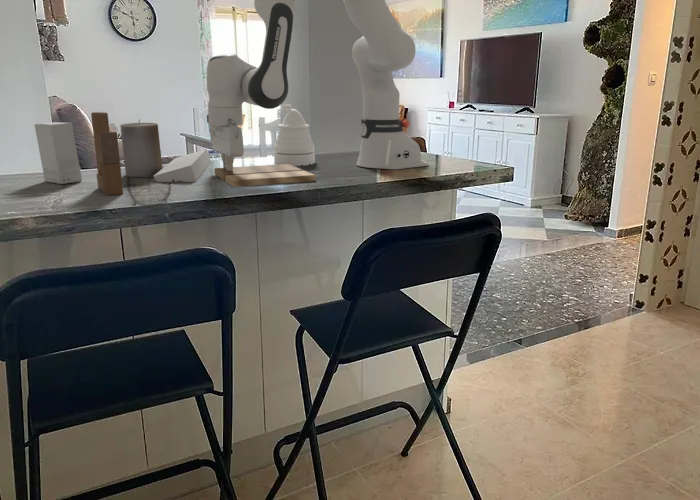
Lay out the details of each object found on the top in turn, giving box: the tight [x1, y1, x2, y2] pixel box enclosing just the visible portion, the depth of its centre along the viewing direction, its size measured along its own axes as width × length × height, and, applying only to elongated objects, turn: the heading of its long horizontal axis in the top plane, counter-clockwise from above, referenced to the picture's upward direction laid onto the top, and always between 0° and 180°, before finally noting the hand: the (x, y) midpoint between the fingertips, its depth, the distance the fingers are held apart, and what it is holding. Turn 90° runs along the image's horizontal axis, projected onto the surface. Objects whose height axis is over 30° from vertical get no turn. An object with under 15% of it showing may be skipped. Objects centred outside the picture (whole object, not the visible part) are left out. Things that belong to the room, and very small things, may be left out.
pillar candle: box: [119, 119, 163, 178], centre depth 157 cm, size 10×10×15 cm
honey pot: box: [273, 104, 316, 167], centre depth 182 cm, size 13×13×18 cm
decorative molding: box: [153, 148, 212, 183], centre depth 166 cm, size 34×5×10 cm
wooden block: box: [90, 111, 124, 196], centre depth 134 cm, size 4×11×18 cm, turn 33°
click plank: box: [214, 164, 303, 182], centre depth 160 cm, size 22×10×2 cm, turn 116°
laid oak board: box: [225, 170, 317, 188], centre depth 151 cm, size 22×8×2 cm, turn 116°
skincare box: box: [34, 121, 83, 185], centre depth 146 cm, size 8×6×15 cm
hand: (228, 169), depth 158 cm, fingers closed, pressing on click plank
